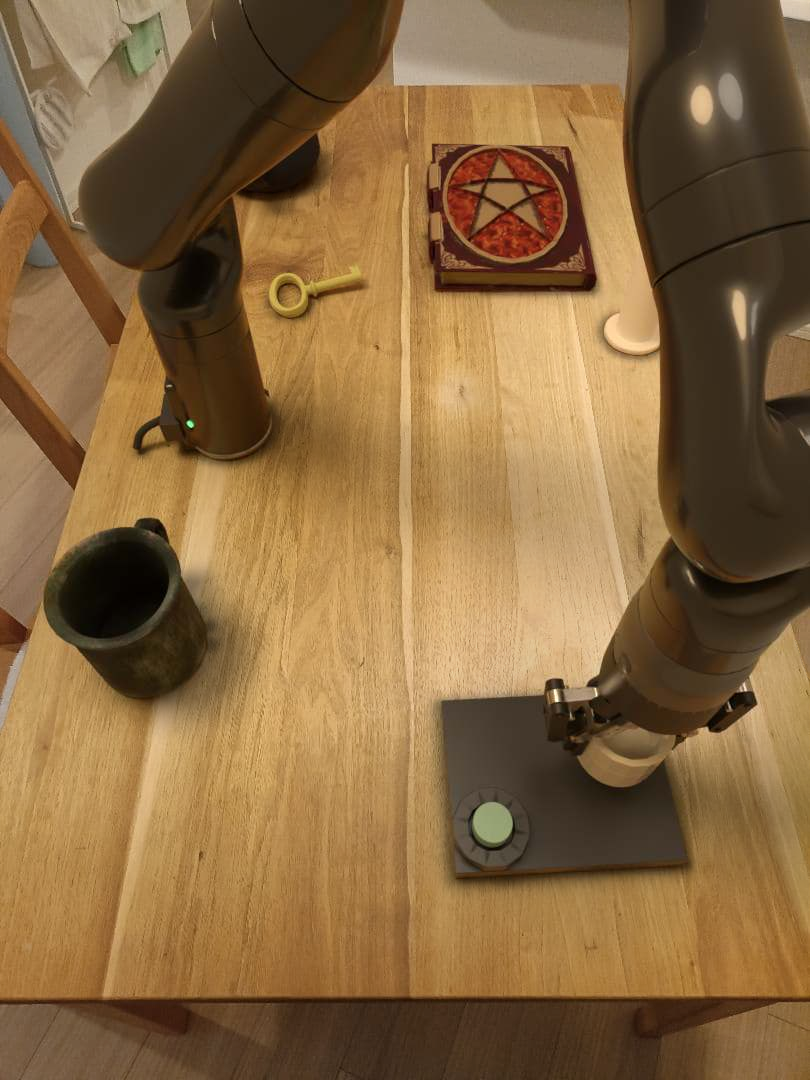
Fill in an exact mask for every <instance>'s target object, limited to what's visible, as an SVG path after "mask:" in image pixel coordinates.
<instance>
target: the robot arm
mask: <svg viewBox="0 0 810 1080" xmlns="http://www.w3.org/2000/svg"><path fill="white" fill-rule="evenodd" d="M405 2H406V0H211V1H210V2H209V3H208V6H207V7H206V9H205V10H204V12H203V14H202V15H201V17H200V18H199V21H197V24H196V25H195V26H194V28H193V30H192V31H191V32H190V34H189V35H188V37H187V39H186V41H185V42H184V44H183V45H182V47H181V49H180V50H179V52H178V53H177V55H176V57H175V58H174V60H173V62H172V63H171V65H170V67H169V69H168V70H167V72H166V74H165V76H164V77H163V79H162V80H161V82H160V84H159V86H158V88H157V90H156V91H155V93H154V95H153V97H152V99H151V100H150V102H149V104H147V107H146V108H145V110H144V111H143V112H142V113H141V115H140V117H139V118H138V119H137V120H136V121H135V123H134V124H133V125H132V126H131V127H130V128H129V129H128V130H127V131H126V132H124V133H123V134H121V136H120V137H119V138H117V139H116V140H115V141H114V142H113V143H111V144H110V145H109V146H108V147H107V148H106V149H105V150H104V151H102V152H101V153H100V154H99V155H98V156H96V158H94V160H93V161H92V162H90V164H88V165H87V167H86V169H85V170H84V172H83V173H82V176H81V178H80V181H79V184H78V189H77V190H78V191H77V204H78V205H77V206H78V211H79V215H80V218H81V222H82V225H83V227H84V230H85V231H86V233H87V235H88V237H89V239H90V240H91V241H92V243H93V244H94V245H95V247H96V248H97V249H98V250H99V251H100V252H101V253H102V254H103V255H104V256H105V257H107V258H108V259H109V260H110V261H112V262H114V263H116V264H117V265H119V266H121V267H124V268H126V269H129V270H133V271H137V272H141V273H140V275H139V278H138V281H137V287H136V294H137V301H138V303H139V304H138V305H139V307H140V309H141V312H142V315H143V317H144V320H145V323H146V325H147V328H148V331H149V333H150V335H151V339H152V342H153V343H154V346H155V349H156V352H157V354H158V357H159V359H160V362H161V365H162V368H163V370H164V373H165V377H164V384H163V391H164V393H163V396H162V403H161V409H160V414H159V415H158V416H155V417H154V418H152V419H151V420H148V421H146V422H145V423H144V424H142V425H141V426H140V427H139V428H138V429H137V430H136V432H135V435H134V438H133V444H132V449H134V450H136V451H140V450H141V449H142V446H143V440H144V438H145V436H146V434H147V433H148V432H150V431H151V430H153V429H154V428H157V427H159V429H160V431H161V434H162V436H163V438H164V441H165V442H180V441H181V442H183V443H184V444H185V445H184V446H185V447H186V450H187V451H197V452H198V453H200V454H201V455H203V456H205V457H208V458H210V459H214V460H226V461H227V460H235V459H236V460H237V459H241V458H243V457H246V456H249V455H250V454H252V453H254V452H256V451H257V450H259V449H260V448H261V447H263V445H264V444H265V443H266V442H267V440H269V437H270V435H271V434H272V430H273V426H274V425H273V423H274V422H273V417H272V412H271V410H270V407H269V403H268V400H267V399H268V398H271V397H270V393H269V390H267V389H266V388H265V385H264V382H263V378H262V373H261V369H260V366H259V365H260V364H259V360H258V357H257V352H256V348H255V343H254V340H253V339H254V338H253V335H252V330H251V326H250V323H249V319H248V315H247V309H246V306H245V305H246V304H245V302H244V298H243V297H244V296H243V292H242V282H243V277H244V267H245V264H244V254H243V249H242V243H241V236H240V230H239V222H238V217H237V211H236V205H235V201H234V195H236V193H238V192H239V191H241V190H243V189H242V188H244V187H245V186H247V185H248V184H250V183H251V182H252V181H254V180H255V179H257V178H258V177H260V176H261V175H263V174H264V173H265V172H267V171H268V170H270V169H271V168H272V167H274V166H275V165H276V164H278V163H279V162H280V161H282V160H283V159H284V158H286V157H287V156H288V155H290V154H291V153H292V152H294V151H295V150H296V149H297V148H299V147H300V146H301V145H302V144H304V143H305V142H306V141H307V140H308V139H309V138H311V137H312V136H313V135H314V134H316V133H317V134H318V133H319V132H320V131H321V130H322V129H323V128H325V127H326V126H327V125H328V124H330V123H331V122H332V121H333V120H334V119H335V118H336V117H337V116H338V115H340V114H341V113H342V112H343V111H344V110H345V109H346V108H347V107H348V106H349V105H351V103H353V102H354V101H355V100H356V99H357V98H358V97H359V96H360V95H361V94H362V93H364V91H365V90H366V89H367V88H368V87H369V86H370V85H371V83H373V81H374V80H375V79H376V78H377V77H378V76H379V74H380V73H381V72H382V70H383V69H384V67H385V65H386V64H387V62H388V59H389V56H390V55H391V52H392V50H393V48H394V45H395V42H396V40H397V36H398V32H399V28H400V24H401V22H402V16H403V11H404V7H405ZM625 3H626V6H627V7H626V8H627V20H628V33H629V36H628V37H629V43H628V61H627V72H626V83H625V90H624V91H625V92H624V102H623V110H622V111H623V112H622V153H623V156H622V157H623V166H624V173H625V182H626V188H627V193H628V198H629V204H630V208H631V213H632V217H633V221H634V226H635V230H636V234H637V238H638V242H639V243H640V246H641V250H642V254H643V258H644V262H645V266H646V270H647V274H648V278H649V282H650V286H651V288H652V289H653V290H652V294H653V298H654V301H655V305H656V309H657V313H658V322H659V337H660V346H659V422H658V423H659V427H658V441H657V442H658V444H657V462H656V465H657V466H656V467H657V468H656V469H657V470H656V471H657V472H656V473H657V493H658V495H657V496H658V501H659V506H660V510H661V515H662V517H663V522H664V524H665V527H666V529H667V531H668V533H669V535H670V536H669V537H668V538H667V540H666V541H665V542H664V544H663V545H662V547H661V549H660V551H659V552H658V555H657V556H656V557H655V560H654V562H653V564H652V566H651V568H650V570H649V572H648V574H647V576H646V578H645V580H644V582H643V584H642V585H641V586H640V587H639V588H638V590H637V591H636V592H635V593H634V595H633V596H632V598H631V599H630V601H629V602H628V604H627V606H626V607H625V610H624V612H623V614H622V616H621V618H620V619H619V622H618V624H617V627H616V629H615V631H614V633H613V635H612V636H611V638H610V641H609V643H608V644H607V647H606V649H605V651H604V653H603V656H602V660H601V664H600V668H599V672H598V674H597V675H596V676H594V677H592V678H590V679H589V680H588V681H587V683H586V684H585V686H582V687H570V685H568V684H565V681H564V679H563V678H559V677H554V678H550V679H547V680H546V681H545V683H544V691H543V695H544V698H543V706H542V709H543V714H544V717H545V724H546V730H547V733H546V734H547V740H548V741H550V742H559V741H562V744H563V749H564V750H565V751H567V750H570V754H571V756H581V754H582V753H583V751H584V749H585V747H586V746H587V744H588V742H589V740H590V739H592V738H594V737H597V738H604V739H608V738H610V737H612V736H614V735H616V734H618V733H620V732H622V731H624V730H627V729H633V730H635V729H637V728H639V727H640V728H642V729H644V730H647V731H649V732H653V733H657V734H663V735H676V739H675V744H674V746H673V748H672V749H671V750H670V751H675V749H676V747H678V745H680V744H682V743H684V742H685V741H686V740H687V738H693V737H695V736H697V735H699V733H700V732H699V729H702V728H704V729H705V728H707V730H708V732H709V733H711V734H720V733H722V732H724V731H726V730H727V729H729V728H730V727H731V726H732V725H734V724H735V723H736V722H738V721H739V720H740V719H741V718H743V717H744V716H745V715H747V714H748V713H749V712H751V710H753V709H754V708H755V707H756V706H758V705H759V704H758V700H757V697H756V694H755V691H754V688H753V685H752V681H751V678H750V676H751V675H752V674H753V672H754V670H755V669H756V667H757V665H758V663H759V661H760V659H761V657H762V656H763V655H764V654H765V653H766V652H767V651H768V650H769V648H770V647H771V646H772V645H773V644H774V643H775V642H776V641H777V639H778V638H779V637H781V636H782V634H783V633H784V631H785V630H786V629H787V628H788V626H789V625H790V623H791V622H793V620H794V619H796V618H797V617H798V616H800V615H801V614H803V613H804V612H806V611H808V610H810V388H806V389H803V390H799V391H795V392H791V393H787V394H784V395H778V396H775V397H771V398H767V399H766V384H767V383H766V382H767V374H768V367H769V361H770V356H771V352H772V348H773V346H774V343H775V341H777V340H779V339H781V338H783V337H785V336H787V335H790V334H792V333H794V332H796V331H798V330H800V329H802V328H803V327H806V326H808V325H810V120H809V117H808V113H807V109H806V105H805V102H804V98H803V93H802V89H801V86H800V82H799V78H798V73H797V69H796V65H795V61H794V57H793V52H792V49H791V45H790V41H789V36H788V31H787V27H786V21H785V17H784V13H783V7H782V4H781V3H782V2H781V0H626V1H625ZM267 397H268V398H267ZM585 713H586V719H587V725H586V723H585V718H584V714H585ZM607 719H608V720H609V722H607Z"/></svg>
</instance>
